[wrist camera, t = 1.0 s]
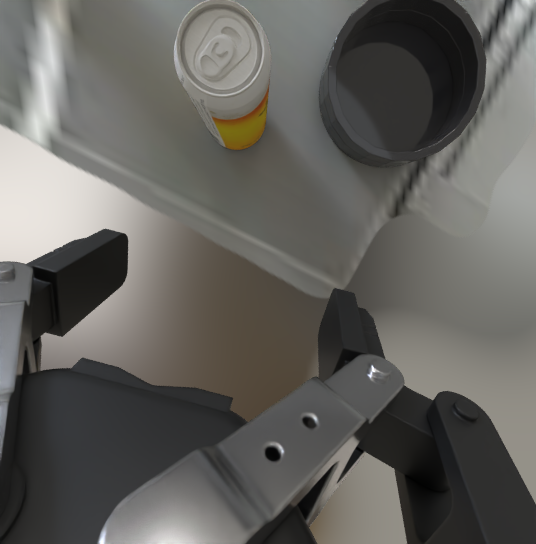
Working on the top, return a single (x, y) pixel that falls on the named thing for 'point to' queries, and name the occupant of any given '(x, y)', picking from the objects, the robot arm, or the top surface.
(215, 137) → the beer can
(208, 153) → the top surface
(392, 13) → the dark grey bowl
